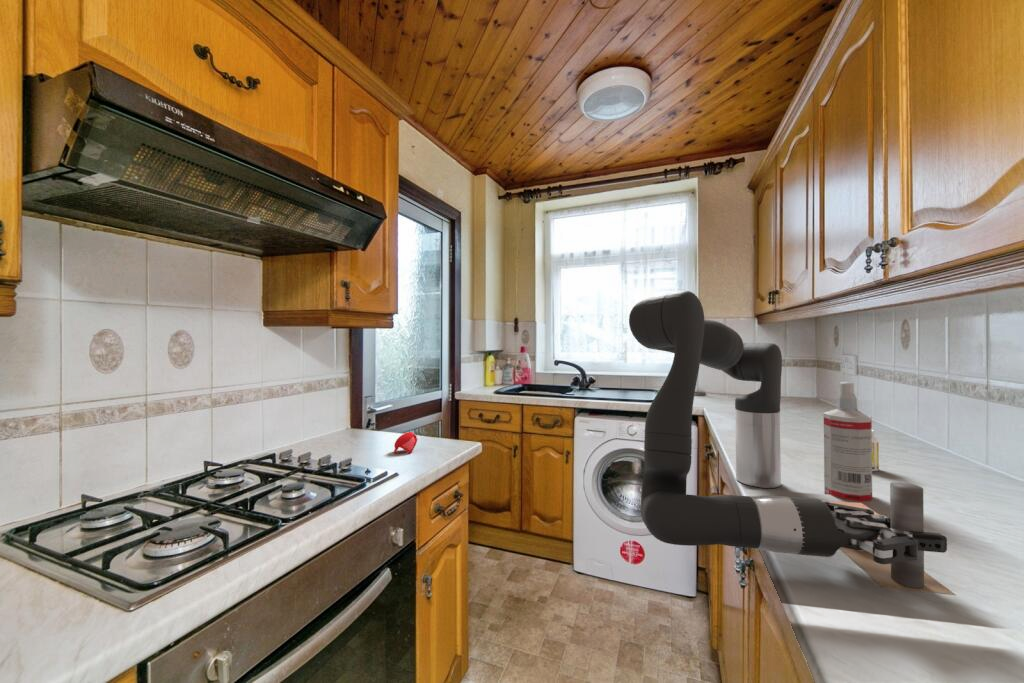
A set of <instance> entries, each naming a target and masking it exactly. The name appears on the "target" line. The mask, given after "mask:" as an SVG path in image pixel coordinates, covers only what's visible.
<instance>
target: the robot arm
mask: <svg viewBox="0 0 1024 683" xmlns="http://www.w3.org/2000/svg"><path fill="white" fill-rule="evenodd" d="M629 312H630V313H629V316H628V317H629V318H628V325H629V326H628V327H629V330H630V332H631V334H632V336H633V337H634V338H635V340H636V342H638V343H639V344H640V345H641V346H643V347H644V348H646V349H650V350H654V351H656V350H657V351H661V352H662V351H663V352H668V353H673V354H674V356H673V361H672V365H671V367H670V370H669V372H668V373H667V376H666V378H665V380H664V381H663V383H662V386H661V387H660V389H659V390H658V392H657V393H656V395H655V397H654V398H653V400H652V402H651V403H650V406H649V409H648V411H647V412H646V413H647V414H646V418H645V423H644V441H643V442H644V445H643V447H644V448H643V449H644V450H643V458H644V459H643V461H644V471H643V478H642V488H641V497H640V516H641V519H642V522H643V524H644V525H645V527H646V529H647V530H648V532H649V533H650V534H651V535H652V536H653V537H654V538H655V539H656V540H659V541H660V542H662V543H664V544H670V545H675V546H689V547H691V546H714V545H715V546H716V545H722V546H727V547H728V546H729V547H734V548H735V547H736V548H747V549H754V550H755V549H757V550H762V551H766V552H772V553H777V554H778V553H779V554H790V555H800V556H801V555H802V556H811V557H812V556H813V557H821V558H830V557H833V556H835V554H836V553H837V551H838V550H840V549H839V548H841V547H844V548H849V549H852V550H857V551H863V550H866V551H868V552H870V553H872V554H873V560H874V561H875V562H877V563H879V564H891V563H898V562H906V561H913V560H918V551H924V552H931V553H946V552H947V550H948V538H947V537H946V536H945V535H943V534H941V533H939V532H932V531H931V532H929V531H928V532H927V531H924V532H917V531H906V530H898V529H891V524H890V517H888V516H886V515H884V514H879V515H874V512H875V511H874V510H873V509H871V508H870V509H871V510H870V509H863V508H858V507H852V506H846V505H841V504H835V503H829V502H827V501H823V500H821V499H819V498H808V497H796V496H795V497H793V496H780V495H779V496H778V495H757V496H756V495H754V496H752V495H749V496H747V495H738V494H737V495H735V494H716V495H715V494H714V495H712V496H708V495H707V496H706V495H697V494H696V495H694V494H688V493H687V479H688V478H687V477H688V475H689V473H690V471H691V466H692V453H693V452H692V451H693V450H692V442H693V441H692V440H693V439H692V427H693V426H692V422H693V421H692V420H693V407H694V401H695V400H694V399H695V393H696V386H697V382H698V376H699V370H700V364H701V365H703V366H705V367H708V368H711V369H715V370H717V371H722V372H723V373H725V374H726V375H728V376H730V377H731V378H733V379H735V380H736V381H737V380H738V381H745V382H758V383H759V382H760V387H759V389H757V390H755V391H753V392H750V393H747V394H741V395H739V396H736V398H735V399H734V407H735V409H734V414H735V416H734V420H735V421H734V422H735V427H734V428H735V479H736V480H737V481H738V482H740V483H742V484H745V485H747V486H750V487H751V486H752V487H756V488H764V489H765V488H766V489H767V488H768V489H773V488H779V487H781V485H782V465H781V464H782V457H781V456H782V453H781V452H782V451H781V450H782V448H781V447H782V446H781V444H782V443H781V442H782V441H781V440H782V438H781V399H782V397H781V396H782V395H781V394H782V389H781V388H782V372H783V370H782V369H783V368H782V367H783V357H782V355H783V354H782V351H781V349H780V347H779V346H778V344H777V343H772V342H767V343H766V342H743V339H742V337H741V335H740V334H739V333H738V332H737V331H736V330H734V328H731V327H729V326H727V325H726V324H724V323H722V322H719V321H716V320H711V319H705V314H704V307H703V305H702V303H701V300H700V299H699V297H698V296H697V295H696V294H695V293H694V292H692V291H691V290H690V291H689V290H680V291H675V292H674V291H673V292H669V293H666V294H661V295H655V296H653V297H647V298H645V299H642V300H640V301H638V302H637V303H636V304H635V305H634V306H633V307H632V309H631V310H630V311H629ZM872 510H873V511H872ZM878 535H880V538H878ZM891 536H899V537H896V538H891Z"/></svg>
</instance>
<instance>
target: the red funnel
mask: <svg viewBox="0 0 1024 683" xmlns="http://www.w3.org/2000/svg"><path fill="white" fill-rule="evenodd" d="M417 443H418V437H417V435H416V434H415V433H414V432H412V431H408V432H404V433H402V434H401V435H400V436H399V437H397V439H396V440H395V442H394V446H393V447H394V450H393V454H396V452H397V451H398V450H399V448H400V449H402V450H404V451H406V452H408V453H409V454H412V453H413V451H414V449H415V447H416V445H417Z"/></svg>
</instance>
